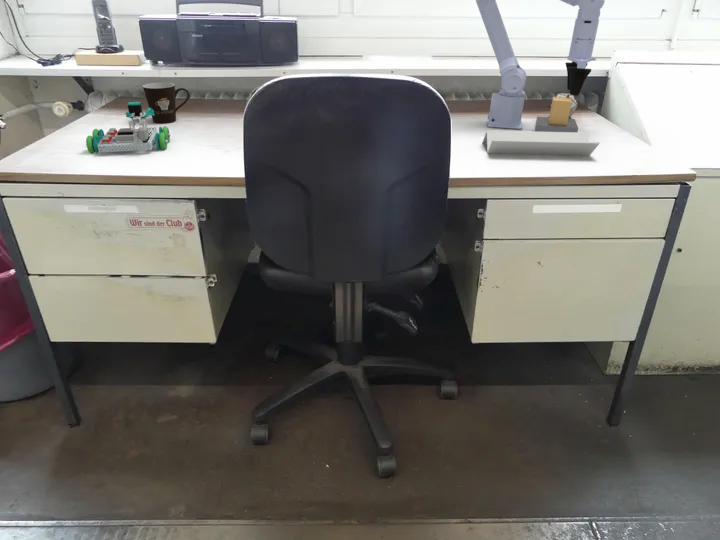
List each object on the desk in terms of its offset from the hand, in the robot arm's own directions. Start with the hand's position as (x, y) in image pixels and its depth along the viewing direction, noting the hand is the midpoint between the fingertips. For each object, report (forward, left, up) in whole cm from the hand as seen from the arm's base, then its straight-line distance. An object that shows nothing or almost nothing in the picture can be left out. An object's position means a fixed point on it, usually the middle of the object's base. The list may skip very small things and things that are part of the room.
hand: (572, 92), depth 146 cm
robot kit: (-109, -44, -11) cm, 118 cm away
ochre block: (-3, -8, -6) cm, 11 cm away
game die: (0, +14, -11) cm, 18 cm away
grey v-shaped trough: (-9, -23, -11) cm, 27 cm away
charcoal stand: (-4, -8, -10) cm, 14 cm away
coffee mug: (-112, -22, -11) cm, 115 cm away
